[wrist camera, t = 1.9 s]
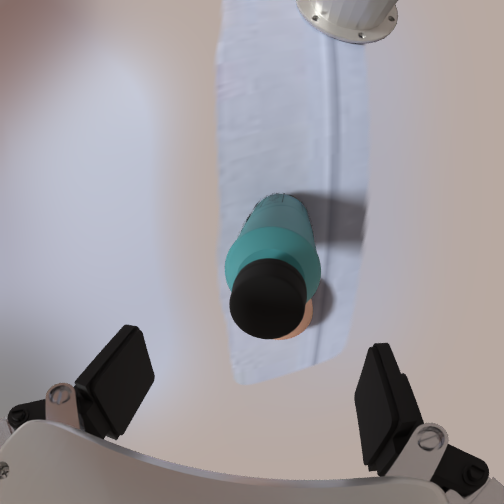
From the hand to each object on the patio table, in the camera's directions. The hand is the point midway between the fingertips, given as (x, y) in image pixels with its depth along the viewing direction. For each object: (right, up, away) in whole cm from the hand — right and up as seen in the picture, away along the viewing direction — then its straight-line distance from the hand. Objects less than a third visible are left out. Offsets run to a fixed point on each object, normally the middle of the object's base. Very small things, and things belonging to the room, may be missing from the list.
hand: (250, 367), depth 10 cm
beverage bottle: (+4, +9, +22) cm, 24 cm away
